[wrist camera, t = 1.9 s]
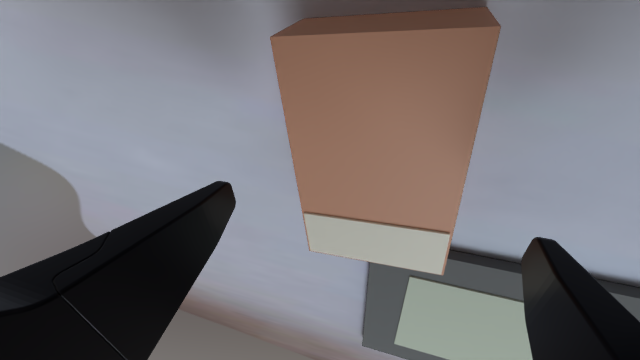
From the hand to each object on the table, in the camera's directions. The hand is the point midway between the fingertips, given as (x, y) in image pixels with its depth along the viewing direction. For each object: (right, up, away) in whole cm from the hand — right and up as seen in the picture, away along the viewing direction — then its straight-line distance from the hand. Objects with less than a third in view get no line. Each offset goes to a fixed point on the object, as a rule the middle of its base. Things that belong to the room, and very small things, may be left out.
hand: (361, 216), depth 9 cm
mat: (+10, -8, +9) cm, 15 cm away
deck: (+2, +3, +4) cm, 5 cm away
